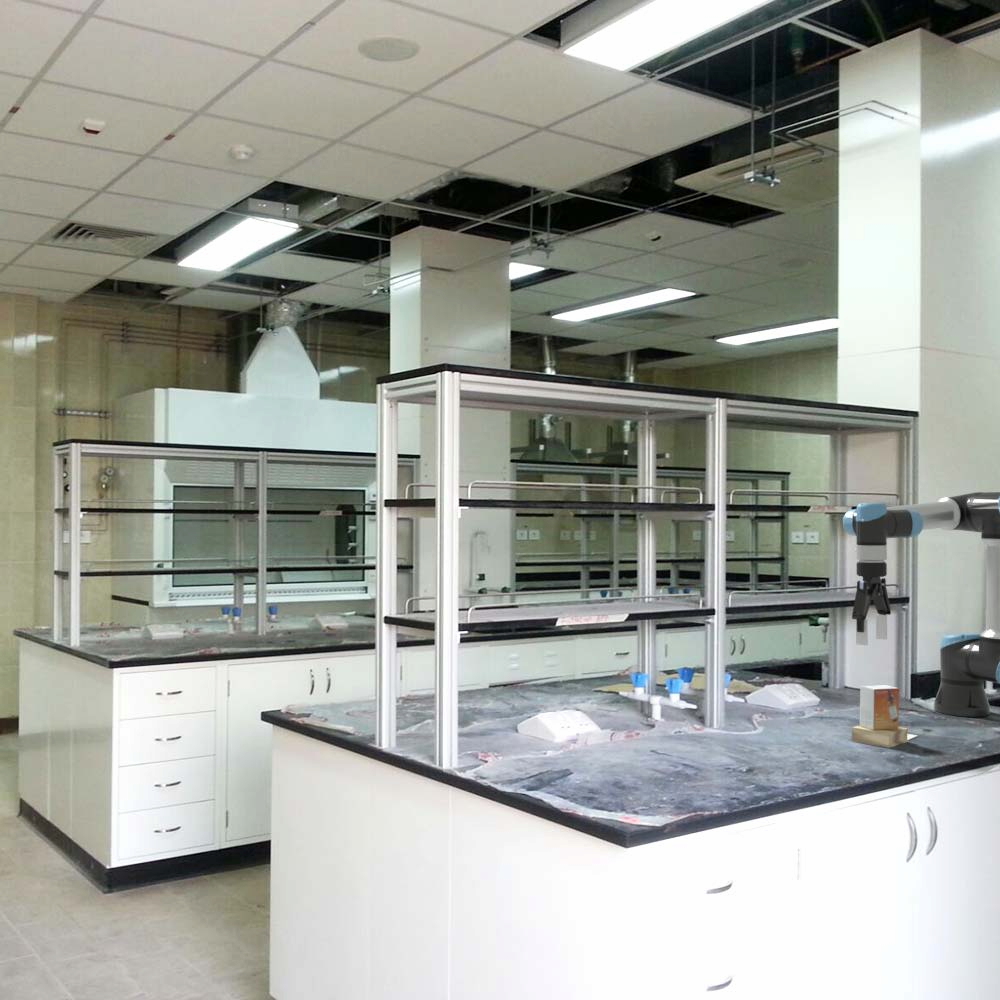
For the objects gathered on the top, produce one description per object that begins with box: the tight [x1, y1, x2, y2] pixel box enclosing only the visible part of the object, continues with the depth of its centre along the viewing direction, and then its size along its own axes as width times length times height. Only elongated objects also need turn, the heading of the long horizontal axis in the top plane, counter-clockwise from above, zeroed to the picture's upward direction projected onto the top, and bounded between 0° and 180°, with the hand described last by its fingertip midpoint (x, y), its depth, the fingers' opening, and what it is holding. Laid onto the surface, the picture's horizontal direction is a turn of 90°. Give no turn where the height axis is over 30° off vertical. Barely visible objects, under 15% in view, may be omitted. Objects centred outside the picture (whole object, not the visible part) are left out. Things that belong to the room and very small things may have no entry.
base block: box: [851, 724, 908, 749], centre depth 269 cm, size 10×10×4 cm
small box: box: [859, 684, 900, 730], centre depth 269 cm, size 8×6×10 cm
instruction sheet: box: [907, 733, 919, 741], centre depth 276 cm, size 7×10×1 cm
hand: (871, 641), depth 276 cm, fingers open, 13 cm apart
